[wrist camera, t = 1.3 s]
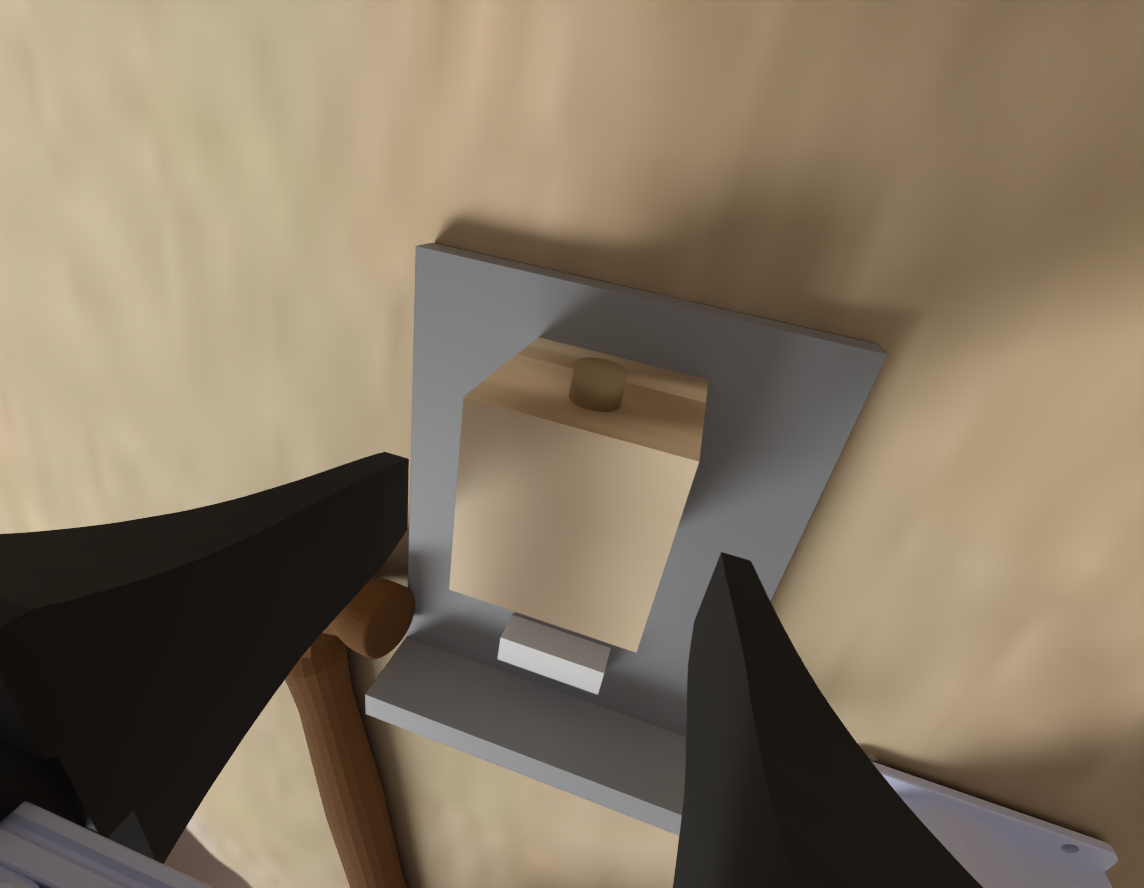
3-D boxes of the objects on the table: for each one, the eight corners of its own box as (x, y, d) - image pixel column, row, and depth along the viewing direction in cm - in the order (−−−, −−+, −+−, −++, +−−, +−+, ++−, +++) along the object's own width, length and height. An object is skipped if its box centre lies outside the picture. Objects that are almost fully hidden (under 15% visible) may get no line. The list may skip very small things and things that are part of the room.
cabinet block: (717, 352, 14) (711, 425, 10) (659, 534, 17) (636, 653, 13) (542, 310, 15) (465, 360, 11) (516, 492, 18) (448, 589, 14)
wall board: (877, 343, 14) (926, 396, 11) (692, 745, 23) (685, 847, 19) (432, 242, 16) (351, 258, 13) (417, 646, 25) (366, 722, 21)
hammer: (454, 921, 35) (414, 573, 21) (423, 978, 33) (355, 626, 19) (325, 832, 39) (221, 494, 25) (289, 877, 37) (151, 528, 23)
